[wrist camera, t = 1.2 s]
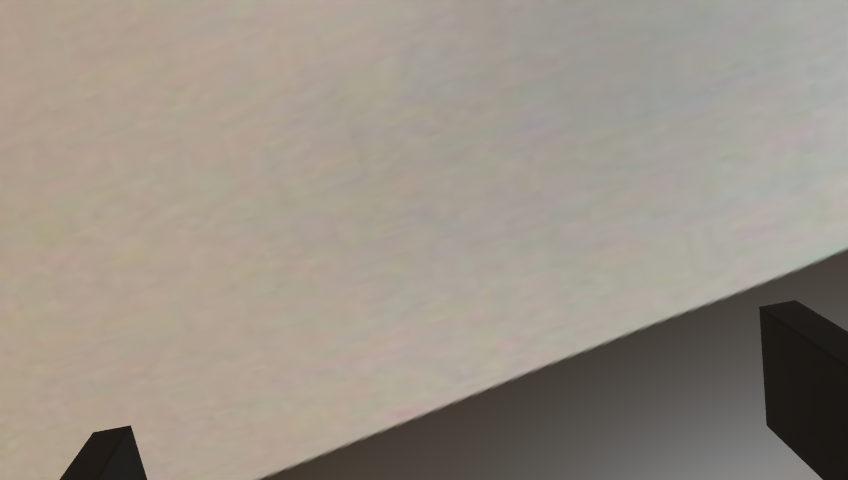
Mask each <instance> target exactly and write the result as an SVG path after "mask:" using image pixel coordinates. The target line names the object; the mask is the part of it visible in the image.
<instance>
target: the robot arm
mask: <svg viewBox="0 0 848 480" xmlns="http://www.w3.org/2000/svg"><path fill="white" fill-rule="evenodd" d="M759 309H760V325H761V341H762V356H763V373H764V388H765V404H766V421H767V426H768V427H769V428H770V429H771V430H772V431H773V432H774V433H775V434H776V435H777V436H778V437H779V438H780V439H781V440H783V442H784V443H785V444H787V445H788V446H789V447H790V448H791V449H792V450H793V451H794V452H795V453H796V454H797V455H798V456H799V457H800V458H801V459H802V460H803V461H804V462H805V463H806V464H807V465H809V467H810V468H811V469H813V470H814V471H815V472H816V473H817V474H818V475H819V476H820V477H821V478H822V479H823V480H848V332H847V331H845V330H844V329H842V328H841V327H839V326H837V325H836V324H834V323H832V322H831V321H829V320H827V319H826V318H824V317H822V316H821V315H819V314H817V313H815V312H814V311H812V310H811V309H809V308H807V307H806V306H804V305H802V304H801V303H799V302H797V301H795V300H794V301H789V302H783V303H779V304H773V305H767V306H762V307H760V308H759ZM60 480H147V478H146V474H145V471H144V468H143V464H142V461H141V458H140V455H139V451H138V448H137V445H136V441H135V438H134V435H133V431H132V428H131V426H125V427H120V428H115V429H109V430H104V431H99V432H94V433H93V434H92V435H91V437H90V438H89V439H88V441H87V442H86V444H85V445H84V446H83V448H82V449H81V451H80V452H79V453H78V455H77V456H76V458H75V459H74V460H73V462H72V463H71V465H70V466H69V467H68V469H67V470H66V472H65V473H64V474H63V476H62V477H61V479H60Z"/></svg>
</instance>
